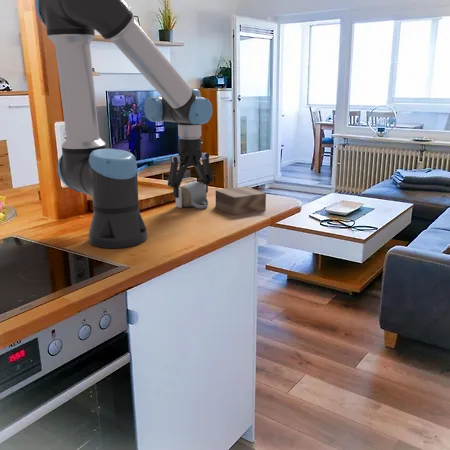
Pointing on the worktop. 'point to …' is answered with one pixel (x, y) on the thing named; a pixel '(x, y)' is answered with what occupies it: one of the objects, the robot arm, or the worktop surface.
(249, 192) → the walnut box
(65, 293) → the worktop surface
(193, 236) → the worktop surface
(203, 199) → the ceramic mug
